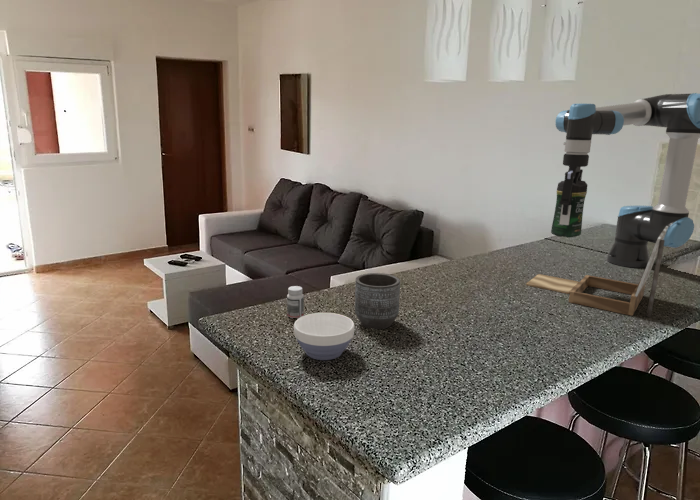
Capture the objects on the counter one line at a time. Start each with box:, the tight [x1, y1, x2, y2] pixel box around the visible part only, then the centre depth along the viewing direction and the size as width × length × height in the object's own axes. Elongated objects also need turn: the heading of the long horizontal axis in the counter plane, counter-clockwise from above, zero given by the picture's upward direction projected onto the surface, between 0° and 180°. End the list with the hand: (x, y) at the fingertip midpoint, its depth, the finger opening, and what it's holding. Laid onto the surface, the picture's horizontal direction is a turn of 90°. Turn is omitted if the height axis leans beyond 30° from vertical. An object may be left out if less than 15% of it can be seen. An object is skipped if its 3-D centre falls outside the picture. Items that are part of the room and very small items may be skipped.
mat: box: [525, 273, 580, 295], centre depth 179 cm, size 14×14×1 cm
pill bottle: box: [286, 285, 305, 319], centre depth 146 cm, size 5×5×8 cm
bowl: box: [293, 312, 356, 361], centre depth 124 cm, size 14×14×8 cm
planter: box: [354, 272, 401, 330], centre depth 141 cm, size 12×12×13 cm
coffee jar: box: [550, 179, 588, 239], centre depth 170 cm, size 10×8×19 cm
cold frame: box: [568, 226, 668, 317], centre depth 161 cm, size 22×22×24 cm
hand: (567, 222), depth 171 cm, fingers closed on coffee jar, 9 cm apart
